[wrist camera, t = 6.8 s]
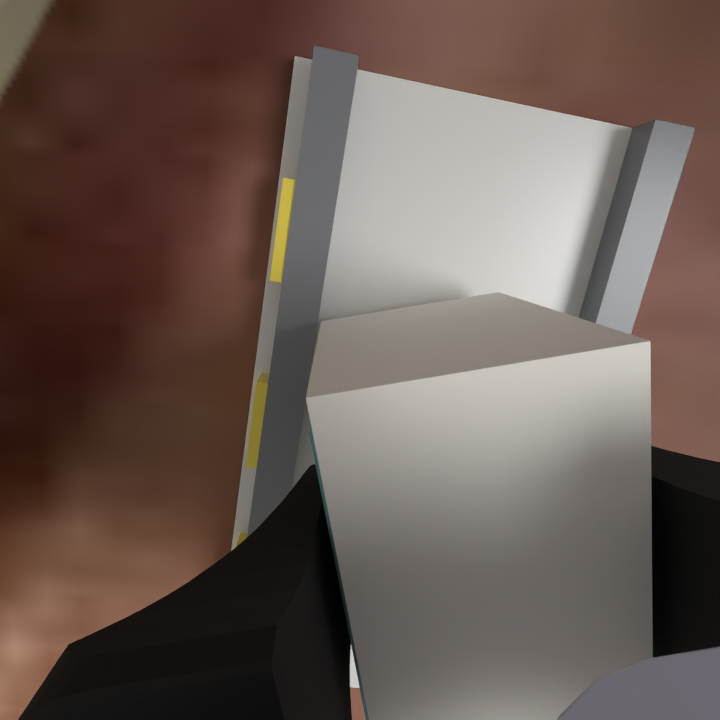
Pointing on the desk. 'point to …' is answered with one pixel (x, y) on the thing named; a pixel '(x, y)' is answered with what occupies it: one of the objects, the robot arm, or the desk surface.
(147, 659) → the robot arm
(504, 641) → the carton
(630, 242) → the shelf bay
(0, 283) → the desk surface
